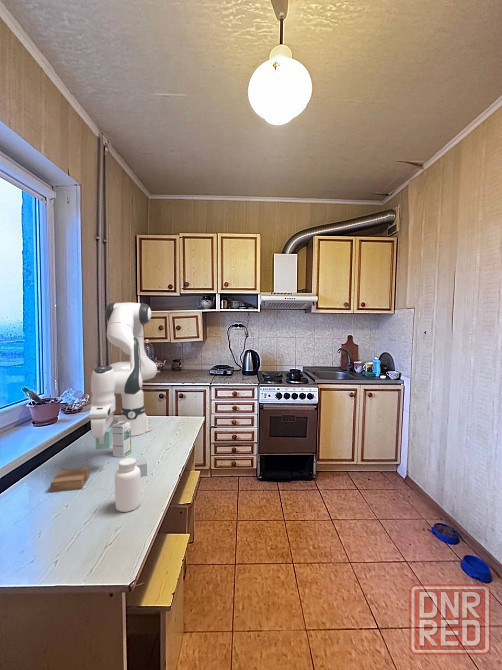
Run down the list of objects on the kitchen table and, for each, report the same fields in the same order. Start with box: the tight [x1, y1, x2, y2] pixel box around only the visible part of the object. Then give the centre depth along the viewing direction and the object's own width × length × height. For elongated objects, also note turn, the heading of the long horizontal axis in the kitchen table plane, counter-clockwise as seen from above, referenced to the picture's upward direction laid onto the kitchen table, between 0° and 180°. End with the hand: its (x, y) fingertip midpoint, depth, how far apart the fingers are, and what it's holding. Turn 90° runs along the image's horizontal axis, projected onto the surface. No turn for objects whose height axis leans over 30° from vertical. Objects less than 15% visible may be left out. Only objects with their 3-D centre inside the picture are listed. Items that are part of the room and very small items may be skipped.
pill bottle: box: [114, 457, 142, 513], centre depth 103 cm, size 8×8×15 cm
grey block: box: [136, 458, 148, 478], centre depth 124 cm, size 5×5×5 cm
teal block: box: [95, 426, 113, 451], centre depth 126 cm, size 5×5×7 cm
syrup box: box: [111, 421, 132, 458], centre depth 142 cm, size 6×6×14 cm
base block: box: [50, 466, 90, 494], centre depth 116 cm, size 10×10×4 cm
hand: (104, 440), depth 126 cm, fingers closed on teal block, 5 cm apart
